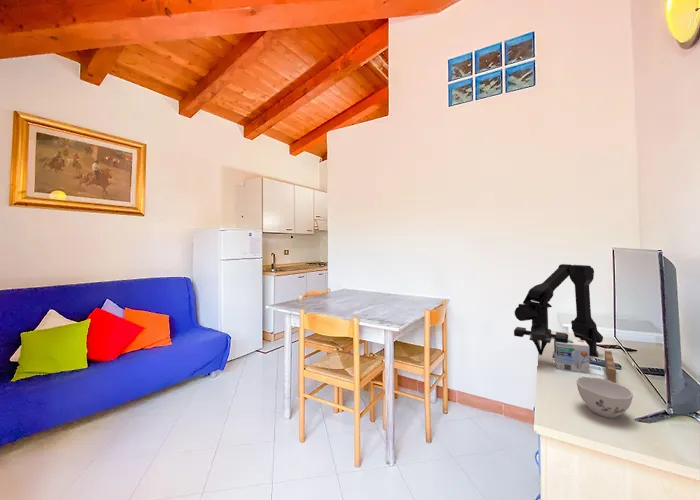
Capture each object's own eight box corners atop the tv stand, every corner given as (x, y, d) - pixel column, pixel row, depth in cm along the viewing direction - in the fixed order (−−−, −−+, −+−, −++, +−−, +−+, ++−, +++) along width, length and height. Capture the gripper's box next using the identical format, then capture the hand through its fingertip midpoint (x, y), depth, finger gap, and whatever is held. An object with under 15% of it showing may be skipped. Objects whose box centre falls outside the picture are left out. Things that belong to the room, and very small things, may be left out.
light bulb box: (556, 369, 114) (555, 342, 114) (553, 362, 120) (553, 337, 120) (590, 373, 109) (590, 345, 109) (586, 366, 115) (585, 340, 115)
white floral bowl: (636, 431, 76) (636, 402, 76) (577, 415, 84) (576, 388, 84) (628, 405, 88) (628, 379, 88) (576, 393, 96) (576, 369, 96)
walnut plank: (605, 365, 115) (604, 350, 115) (611, 366, 114) (611, 351, 114) (608, 385, 100) (608, 368, 100) (616, 387, 99) (615, 369, 99)
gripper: (511, 319, 120) (512, 356, 121) (566, 326, 108) (567, 367, 109) (515, 313, 129) (516, 348, 129) (567, 319, 117) (568, 357, 117)
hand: (540, 354), depth 121 cm, fingers closed
